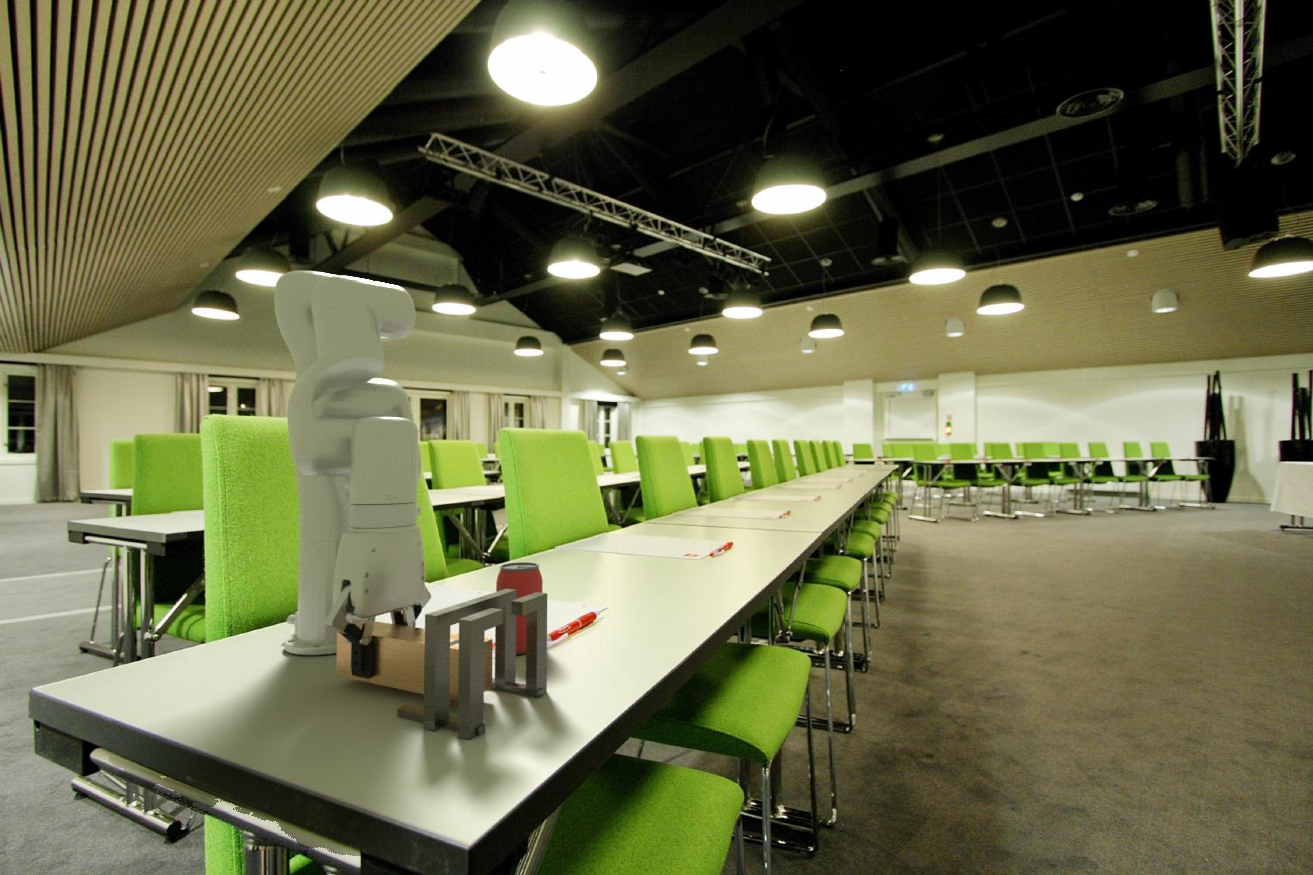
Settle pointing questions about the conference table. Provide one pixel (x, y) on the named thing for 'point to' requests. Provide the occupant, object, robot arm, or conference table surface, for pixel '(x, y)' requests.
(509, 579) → the beer can
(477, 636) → the gray arch posts
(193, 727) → the conference table surface
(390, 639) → the long brass-colored rectangular prism
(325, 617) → the robot arm
